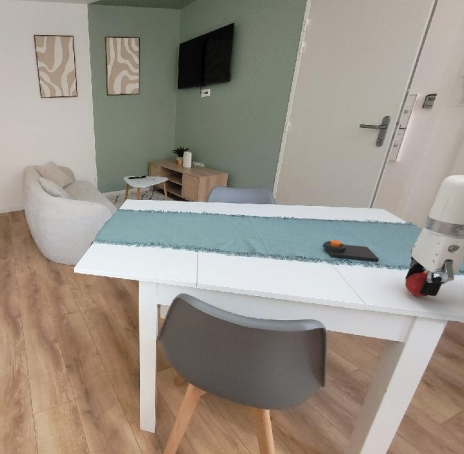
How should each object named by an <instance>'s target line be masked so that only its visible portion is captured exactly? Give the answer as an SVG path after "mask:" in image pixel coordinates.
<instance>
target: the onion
mask: <svg viewBox="0 0 464 454" xmlns="http://www.w3.org/2000/svg"><path fill="white" fill-rule="evenodd" d="M427 277H428V270H427V269H426V271H424V272H422V273H416V274H413V275H411V276H409V277H408V278H407V279H405V284H404V285H405V288H406V290H408V293H410V294H411V295H412V296H414V297H418V298H419V297H427V296H429V295H421V294H420V293H419V291H420V289H421V287H422V285H423V283H424V280H426V281H427Z"/></svg>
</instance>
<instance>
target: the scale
mask: <svg viewBox="0 0 464 454" xmlns="http://www.w3.org/2000/svg"><path fill="white" fill-rule="evenodd" d="M330 242H331V240H326V241H325V242H322V243H323V244H322V247H323V248H324V250H325V251H326V253H327V255H328V256H329V258H334V259H343V260H351V261H361V262H370V263H371V262H372V263H379V257H378V256H377V255H376V254H375V253H374V252H373V251H372V250H371V249H370V248H369V247H368V246H364V245H363V246H362V245H351V244H344V243H343V242H341V247H334V246H331V245H330Z"/></svg>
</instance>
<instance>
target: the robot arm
mask: <svg viewBox="0 0 464 454" xmlns="http://www.w3.org/2000/svg"><path fill="white" fill-rule="evenodd" d="M422 228H423V229H422V230H421V231H420V233H419V235H418V237H417V239H416V241H415V243H414V245H413V247H412V248H411V250H410V255H411V256H410V260H411V262H410V263H409V268H408V271H407V273H406V276H405V278H404V279H405V280H406V279H407V278H408V277H409V276H411V275H413V274H416V273H422V272H424V271H426V270H428V277H427V281H426V280H424V283H423V285H422V287H421V289H420V291H419V293H420V294H421V295H428V296H429V297H436V296H437V295H438V293H439V291H440V289H441V287H442V286H443V285H444V284H446V283H448V282H452V281H454V280H455V276H456V274H458V272H459V270H460V268H461V266H462V263H463V261H464V174H453V175H449V176H447V177H445V178H444V179H443V180H442V182H441V184H440V187H439V189H438V192H437V193H436V196H435V198H434V201H433V203H432V206H431V208H430V210H429V214H428V215H427V218H426V220H425V223H424V225H423V227H422ZM435 274H437V275H438V276H435Z"/></svg>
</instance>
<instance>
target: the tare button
mask: <svg viewBox="0 0 464 454" xmlns="http://www.w3.org/2000/svg"><path fill="white" fill-rule="evenodd" d="M330 241H331V242H330V245H331V246H334V247H341V243H342V241H341V240H336V239H332V240H330Z"/></svg>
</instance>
